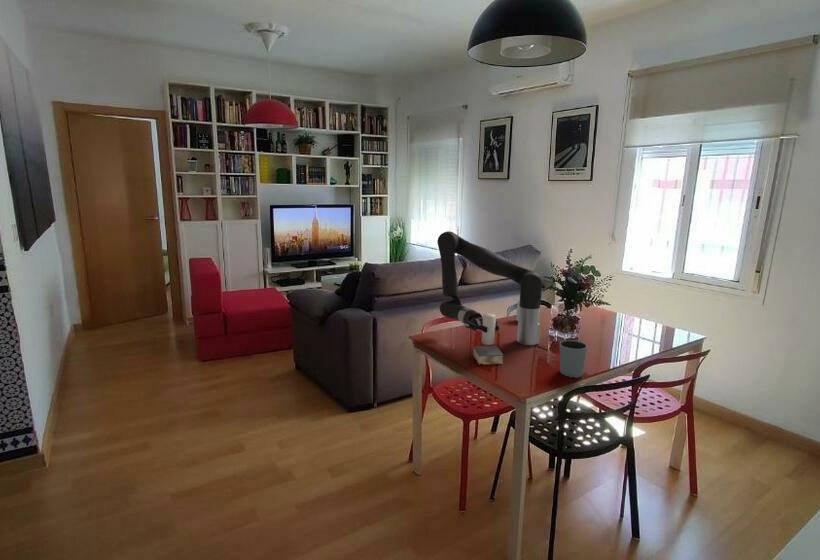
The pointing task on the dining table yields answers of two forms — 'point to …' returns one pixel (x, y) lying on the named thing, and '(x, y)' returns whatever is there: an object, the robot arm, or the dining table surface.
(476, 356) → the plinth
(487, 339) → the pale grey rectangular block
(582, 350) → the plant pot
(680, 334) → the dining table surface
